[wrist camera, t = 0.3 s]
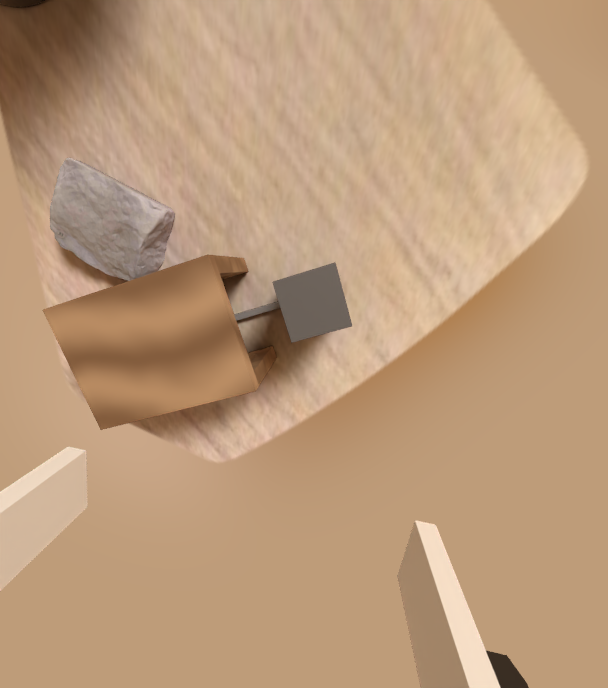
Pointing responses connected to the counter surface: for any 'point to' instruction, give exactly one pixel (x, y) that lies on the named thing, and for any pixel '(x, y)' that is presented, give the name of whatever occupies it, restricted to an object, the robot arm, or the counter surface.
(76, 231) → the stone block
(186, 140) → the counter surface
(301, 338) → the tethered block
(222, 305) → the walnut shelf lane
